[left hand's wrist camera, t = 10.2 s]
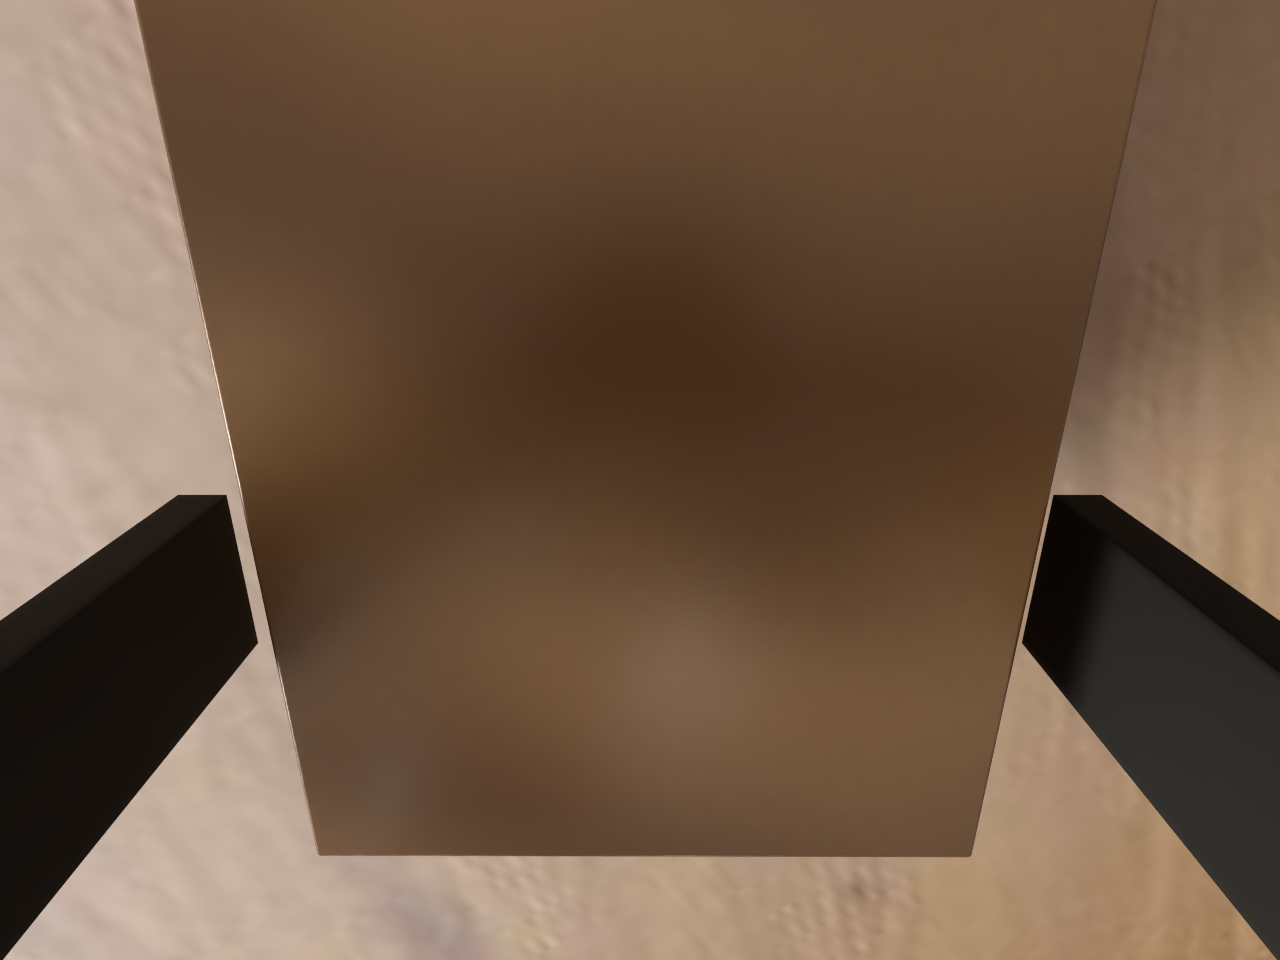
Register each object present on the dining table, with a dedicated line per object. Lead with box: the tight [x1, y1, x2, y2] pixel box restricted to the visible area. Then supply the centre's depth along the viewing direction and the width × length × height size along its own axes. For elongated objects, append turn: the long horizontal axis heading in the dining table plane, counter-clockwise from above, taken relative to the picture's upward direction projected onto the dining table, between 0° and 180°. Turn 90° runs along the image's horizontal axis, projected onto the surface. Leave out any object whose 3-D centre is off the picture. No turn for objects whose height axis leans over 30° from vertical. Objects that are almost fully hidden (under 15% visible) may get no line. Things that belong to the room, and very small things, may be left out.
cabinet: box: [134, 0, 1157, 857], centre depth 14 cm, size 18×10×11 cm, turn 0°
